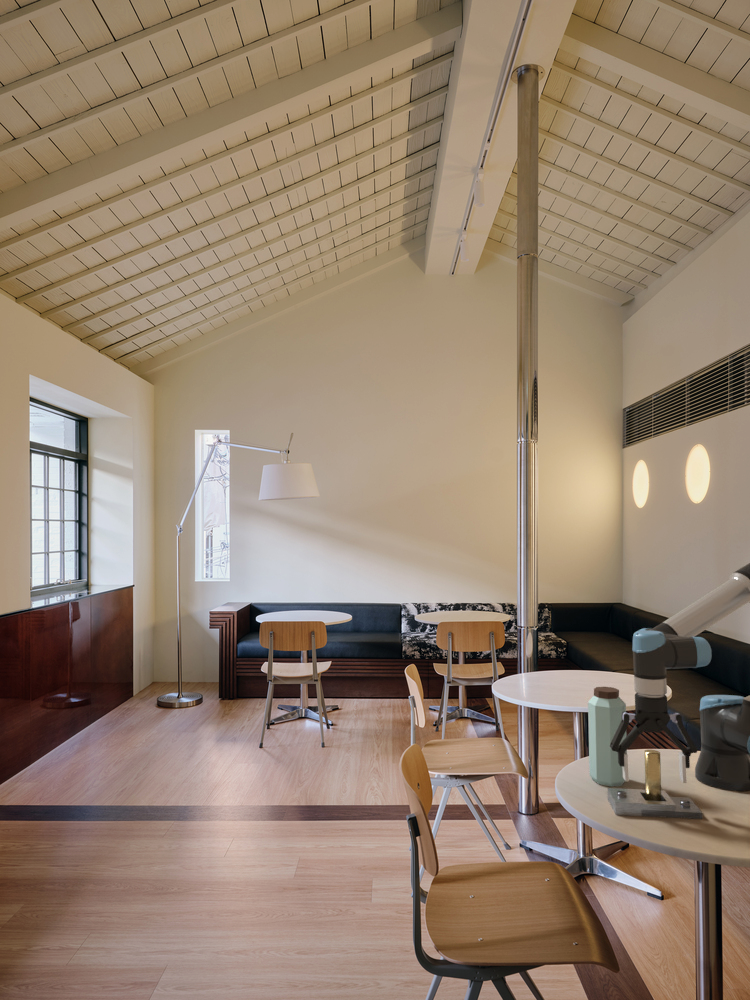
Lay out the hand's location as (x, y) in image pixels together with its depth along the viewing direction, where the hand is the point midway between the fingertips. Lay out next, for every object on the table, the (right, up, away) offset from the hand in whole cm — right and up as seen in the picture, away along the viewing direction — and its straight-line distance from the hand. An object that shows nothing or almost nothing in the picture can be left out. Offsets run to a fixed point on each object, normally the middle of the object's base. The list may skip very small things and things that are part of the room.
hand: (654, 780), depth 163 cm
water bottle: (-5, -8, +18) cm, 21 cm away
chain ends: (0, -7, 0) cm, 7 cm away
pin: (0, -7, 0) cm, 7 cm away
